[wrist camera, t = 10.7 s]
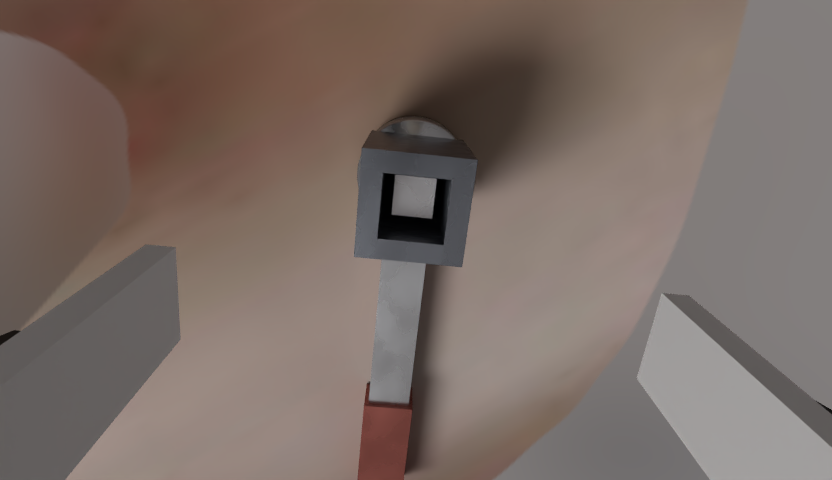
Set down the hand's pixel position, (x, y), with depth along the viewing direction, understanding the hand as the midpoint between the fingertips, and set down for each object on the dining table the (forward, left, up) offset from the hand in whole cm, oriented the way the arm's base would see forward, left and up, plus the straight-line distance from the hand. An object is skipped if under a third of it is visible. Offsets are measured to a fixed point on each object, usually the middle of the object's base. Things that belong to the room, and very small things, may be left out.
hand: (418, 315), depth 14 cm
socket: (0, 0, -19) cm, 19 cm away
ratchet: (+12, 0, -22) cm, 25 cm away
